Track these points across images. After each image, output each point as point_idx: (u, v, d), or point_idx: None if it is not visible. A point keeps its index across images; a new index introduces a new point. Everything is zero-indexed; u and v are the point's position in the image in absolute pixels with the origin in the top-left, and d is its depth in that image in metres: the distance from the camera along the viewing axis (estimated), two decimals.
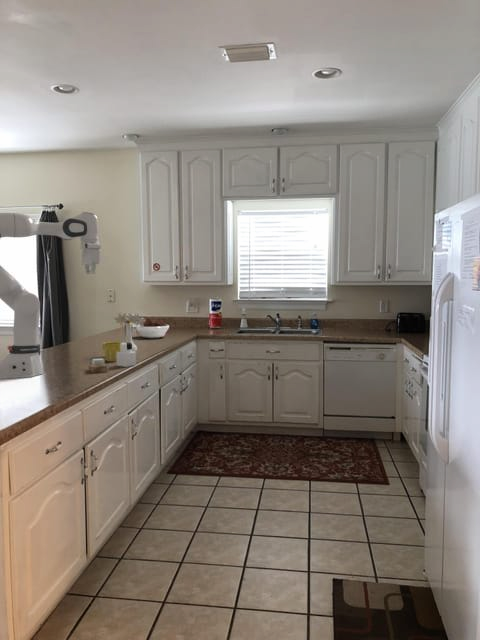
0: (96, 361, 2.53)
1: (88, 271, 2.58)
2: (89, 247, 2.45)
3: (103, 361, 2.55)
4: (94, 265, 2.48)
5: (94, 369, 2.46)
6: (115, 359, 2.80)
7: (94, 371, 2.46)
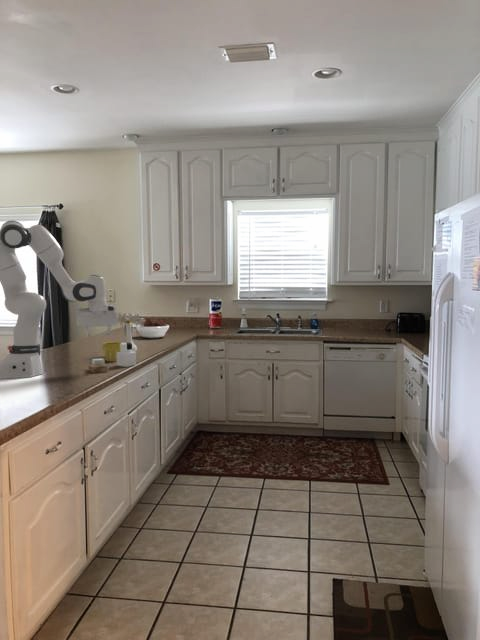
0: (96, 361, 2.53)
1: None
2: None
3: (103, 361, 2.55)
4: None
5: (94, 369, 2.46)
6: (115, 359, 2.80)
7: (94, 371, 2.46)
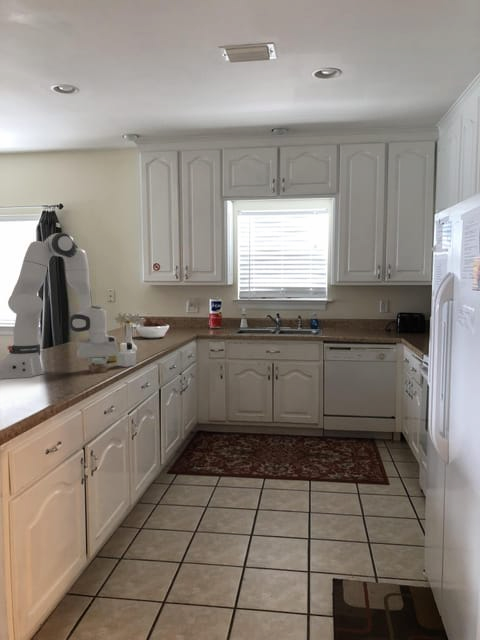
0: (96, 361, 2.53)
1: None
2: (115, 340, 2.58)
3: (103, 361, 2.55)
4: None
5: (94, 369, 2.46)
6: (115, 359, 2.80)
7: (94, 371, 2.46)
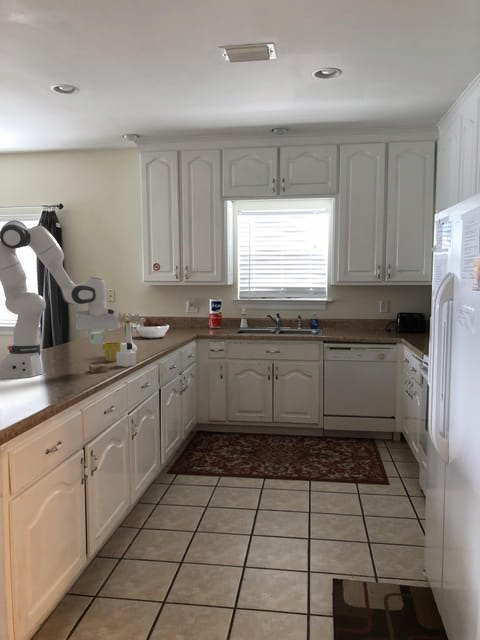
0: (95, 335, 2.50)
1: None
2: None
3: (102, 335, 2.53)
4: None
5: (94, 369, 2.46)
6: (115, 359, 2.80)
7: (94, 371, 2.46)
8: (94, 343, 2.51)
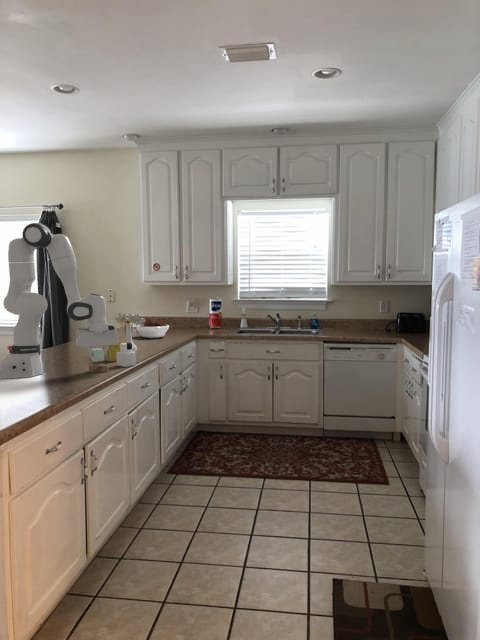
0: (95, 352, 2.47)
1: None
2: (115, 329, 2.51)
3: (102, 352, 2.49)
4: None
5: (94, 369, 2.46)
6: (115, 359, 2.80)
7: (94, 371, 2.46)
8: (95, 360, 2.48)
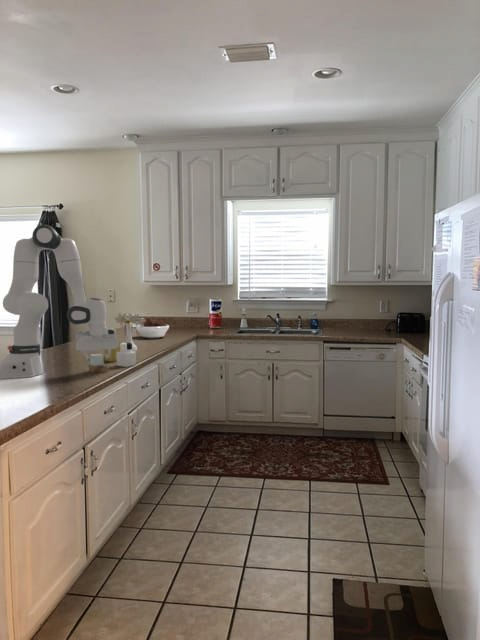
0: (95, 356, 2.48)
1: None
2: (115, 333, 2.51)
3: (102, 356, 2.50)
4: None
5: (94, 369, 2.46)
6: (115, 359, 2.80)
7: (94, 371, 2.46)
8: (94, 364, 2.48)
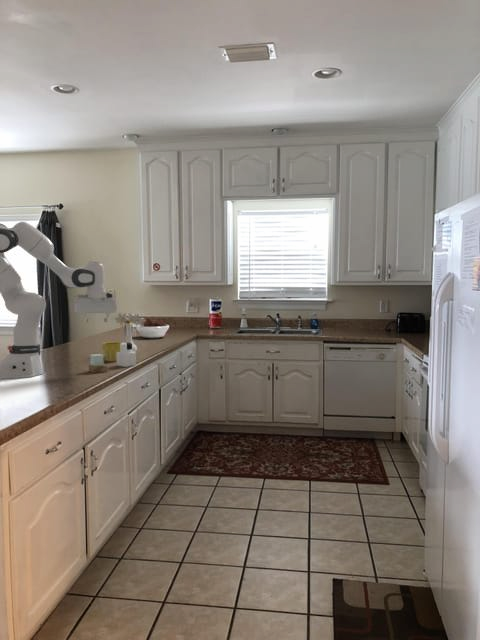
0: (95, 356, 2.48)
1: None
2: None
3: (102, 356, 2.50)
4: None
5: (94, 369, 2.46)
6: (115, 359, 2.80)
7: (94, 371, 2.46)
8: (94, 364, 2.48)
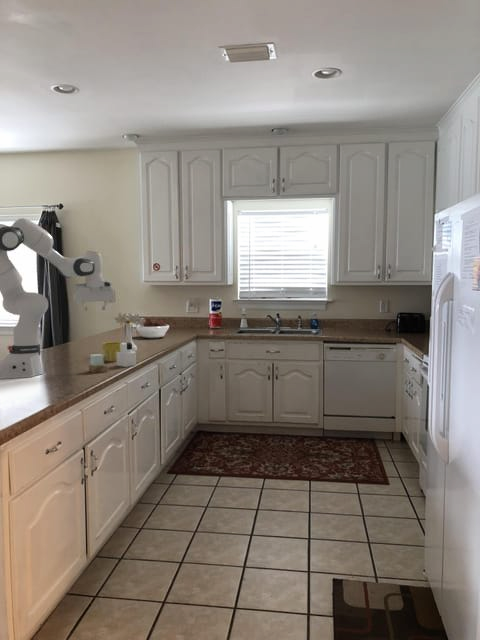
0: (95, 356, 2.48)
1: None
2: (111, 285, 2.64)
3: (102, 356, 2.50)
4: None
5: (94, 369, 2.46)
6: (115, 359, 2.80)
7: (94, 371, 2.46)
8: (94, 364, 2.48)
